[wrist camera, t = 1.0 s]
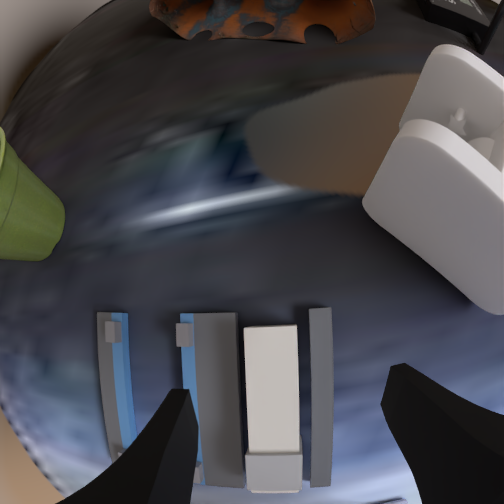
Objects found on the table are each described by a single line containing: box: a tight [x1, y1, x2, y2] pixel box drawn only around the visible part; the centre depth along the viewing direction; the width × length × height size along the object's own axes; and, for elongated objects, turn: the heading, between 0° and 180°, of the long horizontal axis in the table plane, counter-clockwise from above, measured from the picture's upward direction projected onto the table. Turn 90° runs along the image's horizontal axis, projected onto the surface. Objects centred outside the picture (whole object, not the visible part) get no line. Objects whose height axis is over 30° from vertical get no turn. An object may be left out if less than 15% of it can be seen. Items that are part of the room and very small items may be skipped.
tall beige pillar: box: [244, 324, 303, 493], centre depth 18 cm, size 12×4×4 cm, turn 2°
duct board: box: [97, 307, 334, 488], centre depth 19 cm, size 14×18×2 cm
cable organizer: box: [362, 44, 504, 315], centre depth 15 cm, size 15×11×12 cm
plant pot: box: [0, 127, 65, 261], centre depth 20 cm, size 12×12×11 cm
